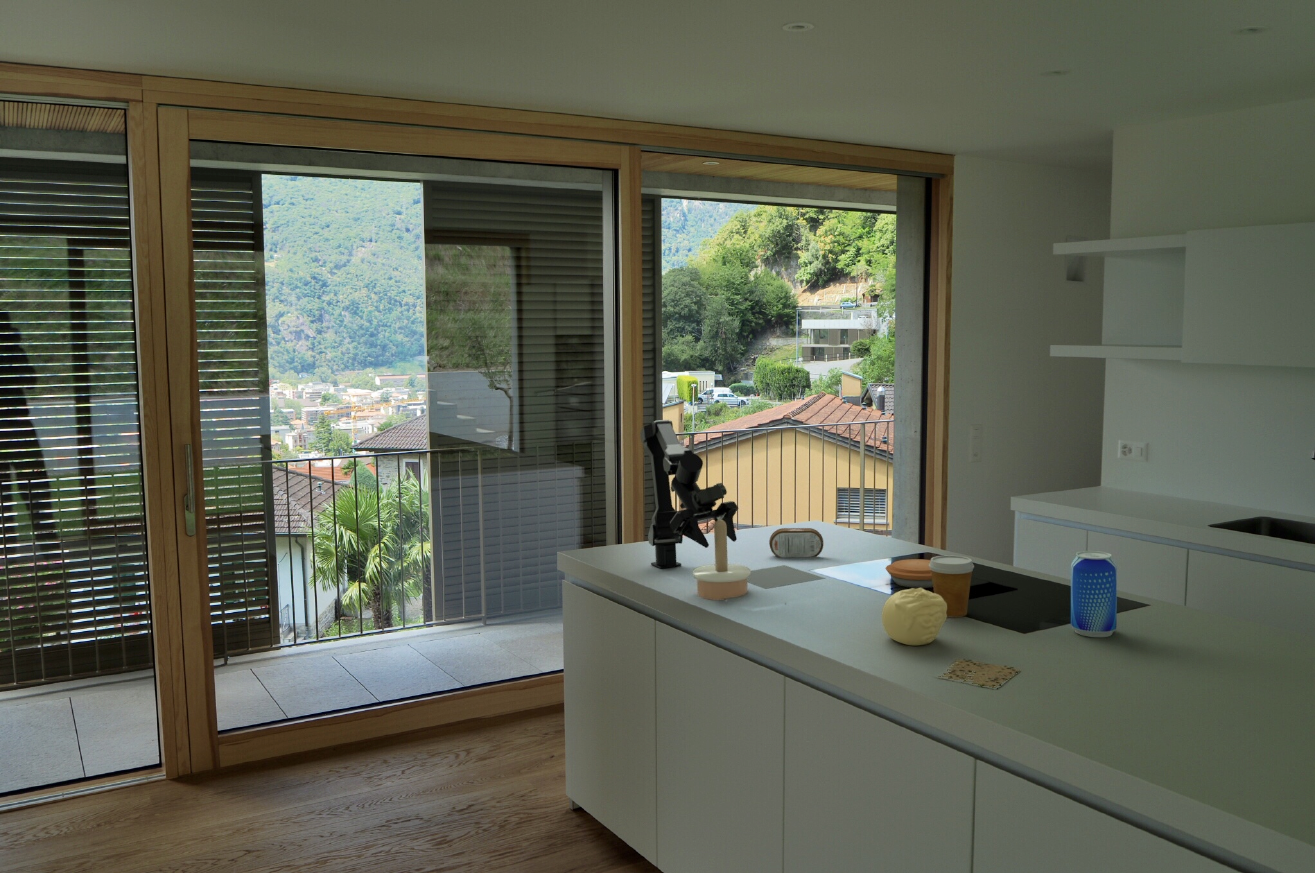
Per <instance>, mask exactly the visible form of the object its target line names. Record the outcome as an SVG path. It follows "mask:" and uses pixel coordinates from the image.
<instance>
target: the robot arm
mask: <svg viewBox="0 0 1315 873" xmlns="http://www.w3.org/2000/svg"><path fill="white" fill-rule="evenodd" d="M673 425H674V424H673V421H672V420H669V419H661V420H655V421H652V423H649V424H647V425H644V426H643V427H642V428H641V430H640V434H639V435H640V441H641V443H643V444H642V445H643V450H644V451H645V453H646V454H647V456H648V457H649V458H650V464H651V465H650V467H651V474H652V483H653V492H654V503H655V511H654V513H653V515H652V517H651V524H650V525H649V530H648V533H647V534H648V535H647V538H648V544H649V545H650V546H651V547H654V548H655V552H654V554H655V561H654V562H653V561H652V562H650V565H652V566H654V567H657V568H658V569H667V568H673V567H679V566H680V567H681V566H682V563H681V562H679V561H677V547H676V545H678V544H679V545H681V544H683V538H684V537H686V538H687V539H690V540H692V541H694V542H695V543H698V545H700V546H702V547H704V548H709V545H710V544H709V542H708V540H707V538H706V536H705V534H704V533H703V531H702V530H701V528H700V525H699V522H700V521H706V520H707V521H708V520H712V519H713V520H714V523H715V522H716V521H717V520H723V521H725V523H726V527H727V538H729V539H730V540H731V541H732V542H733V543H734V542H737V540H738V539H737V538H738V537H737V534H736V529H735V525H734V524H735V523H734V516H735V515H736V513H737V511H738V510H739V509H740V508H739V506H738V505H737V503H736V502H735V501H734V500H733V501H732V500H730V501H725V502H720V503H719V505H718V506H717V508H716V509H713V508H714V507H716V505H717V501H720V500H722V499H725V496H726V495H727V493H728V491H727V488H726V486H725V485H724V483H722V482H718V483H716V484H714V485H713V486H708V487H706V488H703V489H701V487H700V486H699V485H698V483H697V482H698V481H699V478H700V476H701V472H702V469H703V465H704V461H703V459H702V458H701V457H700V456H699V455H698V454H695V453H693V449H689V448H687V447H685V446H683V445H682V444H681V442H680V441H679V438H678V436H677V433H676V432H675V430H674V426H673ZM670 476H674V477H673V478H672V479H671V484H670ZM673 492H675V494H676V496H677V497H678V499H679V501H680V502H681V504H680V505H679V506H680V509H681V510H676V509H675V508H674V507H673V503H672V493H673Z"/></svg>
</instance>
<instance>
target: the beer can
mask: <svg viewBox="0 0 1315 873" xmlns="http://www.w3.org/2000/svg"><path fill="white" fill-rule="evenodd" d="M1075 555H1076V556H1075V558H1074V559H1073V560H1072V562H1071V563H1070V626H1071V627H1072V629H1073V630H1074V632H1075V633H1076V634H1077V635H1080V636H1084V637H1089V638H1090V637H1091V638H1107V637H1111V636H1112V635H1113V633H1114V632H1115V631H1116V629H1117V626H1118V624H1117V620H1118V619H1117V614H1118V612H1117V609H1118V607H1117V603H1118V602H1117V597H1118V592H1117V591H1118V589H1117V587H1118V585H1117V584H1118V578H1117V577H1118V576H1117V575H1118V571H1117V570H1118V567H1117V564H1116V563H1115V561H1114V560H1113V558H1112V557H1113V556H1112V554H1111V553H1108V552H1105V551H1098V550H1097V551H1096V550H1083V551H1077V552H1076V553H1075Z"/></svg>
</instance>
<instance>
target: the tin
mask: <svg viewBox="0 0 1315 873" xmlns="http://www.w3.org/2000/svg"><path fill="white" fill-rule="evenodd" d="M768 542H769V544H768V545H769V547H770V548H769V549H770V551H771V553H772V554H773V555H774V556H775V557H777V558H817V557H819V555H820V554H821V553H822V551H823V549H824V538H823V536H822V534H821V533H820V532H819V531H818V530H816V529H815V528H812V527H811V528H810V527H800V528H799V527H798V528H796V527H791V528H789V527H788V528H787V527H785V528H784V527H783V528H779V529H776V530H775V531H773V532H772V534H771V535H770V537H769V541H768Z"/></svg>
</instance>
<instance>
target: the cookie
mask: <svg viewBox="0 0 1315 873" xmlns="http://www.w3.org/2000/svg"><path fill="white" fill-rule="evenodd" d="M955 661H956V662H958V663H956V662H955ZM955 661H954V662H955V663H953V662H952V663H951V664H954V665H952V666H953V667H949V668H951V669H947V671H948V670H949V671H951V672H948V673H949V674H948V673H943V674H944V675H946V676H943V675H942V677H948V679H954V680H960V679H961V680H964V681H963V682H973V683H972V684H978V685H980V686H989V687H992V688H996V687H997V686H1001V684H1002V682H1004V681H1006V680H1008V679H1010V677H1013V675H1015V676H1017V675H1016V673H1018V672H1019V673H1021V671H1020V670H1021V669H1017V668H1014V667H1013V666H1007V665H999V664H993V663H992V664H991V663H986V662H981V661H976V660H973V659H966V658H963V659H961V658H958V659H956V660H955ZM972 671H973V672H972ZM974 671H975V672H974ZM964 673H965V674H964ZM969 673H971V674H969ZM973 673H975V674H973ZM1019 673H1018V674H1019ZM949 675H950V676H949ZM967 675H974V676H967ZM938 677H941V676H938ZM968 677H969V678H968ZM971 677H972V678H971ZM1013 678H1014V677H1013ZM965 679H966V680H968V679H969V680H974V681H966V680H965ZM1010 680H1011V679H1010ZM998 684H999V685H998ZM994 686H996V687H994ZM1001 687H1002V686H1001Z"/></svg>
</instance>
